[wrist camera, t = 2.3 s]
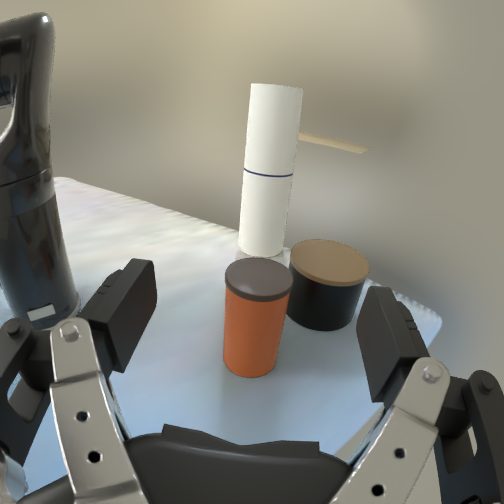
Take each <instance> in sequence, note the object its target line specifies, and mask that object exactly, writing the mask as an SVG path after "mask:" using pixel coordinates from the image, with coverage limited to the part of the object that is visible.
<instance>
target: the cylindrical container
mask: <svg viewBox="0 0 504 504" xmlns="http://www.w3.org/2000/svg"><path fill="white" fill-rule="evenodd" d="M302 97H303V89H300V88H295V87H288V86H280V85H271V84H251V94H250V104H249V115H248V116H249V117H248V127H247V139H246V152H245V164H244V167H245V168H244V177H243V189H242V202H241V216H240V229H239V243H238V246H239V248H240V249H241V250H242V251H243V252H245V253H246V254H249V255H252V256H256V257H272V256H276V255H278V254H279V253H281V251H282V249H283V242H284V235H285V228H286V222H287V214H288V208H289V200H290V192H291V186H292V179H293V171H294V163H295V155H296V148H297V140H298V132H299V123H300V115H301V105H302Z"/></svg>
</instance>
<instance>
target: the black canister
mask: <svg viewBox="0 0 504 504" xmlns="http://www.w3.org/2000/svg"><path fill="white" fill-rule="evenodd" d="M289 270H290V272H291V273H292V275H293V286H292V289H291V291H290V295H289V300H288V305H287V310H286V313H287V314H288V316H289V317H290V318H291V319H292V320H294V321H295V322H297V323H298V324H300V325H302V326H304V327H306V328H309V329H313V330H318V331H333V330H337V329H340V328H343V327H344V326H346V325H347V324H348V323H349V322H350V321H351V319H352V317H353V314H354V311H355V308H356V306H357V303H358V300H359V297H360V294H361V291H362V288H363V285H364V282H365V279H366V278H367V276H368V273H369V264H368V261H367V260H366V258H365V257H364V256H363V255H362V254H361V253H359V252H358V251H356V250H355V249H353V248H351V247H349V246H347V245H344V244H342V243H339V242H335V241H330V240H323V239H312V240H305V241H302V242H299V243H297V244H296V245H295V246H293V248H292V249H291V253H290V264H289Z"/></svg>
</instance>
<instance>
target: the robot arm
mask: <svg viewBox="0 0 504 504" xmlns="http://www.w3.org/2000/svg"><path fill="white" fill-rule="evenodd" d="M54 52H55V28H54V24H53V21H52V19H51V18H50V16H49V15H48V14H46V13H43V12H40V13H33V14H28V15H25V16H21V17H18V18H14V19H10V20H7V21H4V22H1V23H0V109H4V108H7V107H11V106H13V108H12V115H11V119H10V122H9V124H8V126H7V127H6V129H5V130H4V131H3V132H2V134H1V135H0V284H1V287H2V290H3V292H4V295H5V297H6V300H7V302H8V304H9V307H10V309H11V311H12V313H13V316H14V318H12V319H10V320H8V321H7V322H5V323H4V324H3V325H2V327H1V328H0V504H404V503H405V502H406V500H407V498H408V496H409V495H410V493H411V491H412V489H413V487H414V485H415V483H416V481H417V479H418V478H419V475H420V473H421V471H422V469H423V467H424V465H425V463H426V461H427V458H428V456H429V454H430V452H431V450H432V447H434V453H435V458H436V464H437V470H438V477H439V485H440V493H441V502H442V504H504V395H503V392H502V390H501V387H500V385H499V383H498V381H497V380H496V378H495V377H494V376H493V375H492V374H490V373H489V372H487V371H483V370H477V371H475V372H474V373H473V374H472V375H471V376H470V378H469V379H468V380H466V379H461V378H457V377H452V376H450V374H449V371H448V369H447V368H446V367H445V365H444V364H443V363H441V362H440V361H438V360H437V359H434V358H431V357H430V355H429V353H428V351H427V348H426V346H425V344H424V341H423V339H422V337H421V335H420V332H419V330H417V329H418V328H417V326H416V324H415V322H414V319H413V317H412V315H411V313H410V311H409V310H408V309H407V308H406V306H405V305H404V304H403V303H402V302H401V301H396V298H395V296H394V294H393V292H392V290H391V288H389V287H379V286H370V287H369V289H368V291H367V294H366V297H365V299H364V302H363V305H362V308H361V311H360V313H359V316H358V319H357V325H356V332H357V337H358V341H359V345H360V349H361V353H362V358H363V362H364V367H365V371H366V376H367V380H368V385H369V390H370V395H371V400H372V403H374V402H383V403H384V407H385V408H384V409H383V410H382V412H381V413H380V415H379V417H378V418H377V420H376V421H375V423H374V425H373V426H372V428H371V429H370V431H369V432H368V434H367V435H366V437H365V438H364V440H363V441H362V443H361V444H360V446H359V447H358V449H357V450H356V451H355V452H354V454H353V455H352V456H351V457H350V459H349V460H348V461H347V462H344V461H342V460H341V459H339V458H337V457H335V456H333V455H330V454H327V453H324V452H320V451H319V442H311V441H284V440H281V441H274V442H267V443H260V444H252V445H237V444H234V443H231V442H228V441H225V440H223V439H220V438H217V437H215V436H212V435H210V434H207V433H205V432H202V431H198V430H193V429H187V428H182V427H177V426H173V425H168V424H164V426H163V430H162V433H151V434H145V435H140V436H137V437H134V438H132V436H131V434H130V432H129V430H128V428H127V425H126V423H125V421H124V418H123V415H122V413H121V410H120V407H119V405H118V402H117V399H116V396H115V393H114V390H113V387H112V384H111V381H110V379H109V377H110V375H111V373H112V371H117V372H120V373H124V371H125V369H126V367H127V365H128V363H129V361H130V359H131V357H132V354H133V352H134V350H135V348H136V346H137V344H138V342H139V340H140V338H141V336H142V334H143V332H144V330H145V328H146V326H147V324H148V322H149V320H150V318H151V316H152V314H153V312H154V310H155V308H156V304H157V289H156V281H155V272H154V264H153V262H152V261H150V260H143V259H135V258H133V259H131V260H130V262H129V263H128V264H127V265H126V267H125V268H124V269H123V270H120V269H119V270H117V271H116V272H114V273H112V274H111V275H109V276H108V277H107V278H106V280H105V281H104V282H103V283H102V286H100V287H99V289H98V290H97V291H96V293H95V294H94V295H93V296H92V298H91V299H90V300H89V301H88V303H87V304H86V305H85V307H84V308H83V309H82V311H81V312H80V313H79V315H78V316H77V314H78V312H79V310H80V299H79V296H78V293H77V291H76V288H75V284H74V281H73V277H72V273H71V269H70V265H69V261H68V257H67V253H66V248H65V244H64V239H63V234H62V229H61V224H60V219H59V213H58V207H57V201H56V194H55V188H54V180H53V173H52V164H51V163H52V161H51V148H50V92H51V81H52V71H53V62H54ZM76 316H77V317H76ZM18 372H19V374H20V375H21V379H20V381H19V383H18V384H17V386H16V388H15V390H14V392H13V393H12V395H11V397H10V399H9V401H8V398H7V393H8V389H9V387H10V386H11V384H12V382H13V380H14V379H15V377H16V375H17V374H18ZM50 402H51V403H52V409H53V415H54V420H55V425H56V430H57V435H58V439H59V443H60V448H61V452H62V456H63V459H64V463H65V467H66V470H67V473H68V474H67V475H65V476H63V477H62V478H60V479H58V480H56V481H54V482H52V483H50V484H48V485H46V486H44V487H42V488H40V489H38V490H36V491H34V492H32V493H30V494H28V495H26V496H25V493H26V492H27V490H28V484H27V482H26V478H25V473H24V470H23V465H24V463H25V460H26V457H27V455H28V452H29V450H30V447H31V445H32V443H33V440H34V438H35V435H36V433H37V431H38V428H39V426H40V424H41V422H42V419H43V417H44V415H45V413H46V411H47V409H48V406H49V404H50ZM471 426H472V427H473V431H474V434H475V438H476V442H477V452H476V455H475V456H474V454H473V450H472V446H471V441H470V437H469V434H468V429H469V428H470V427H471Z"/></svg>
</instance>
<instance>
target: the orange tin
mask: <svg viewBox="0 0 504 504" xmlns="http://www.w3.org/2000/svg"><path fill="white" fill-rule="evenodd" d="M225 282H226V297H225V323H224V353H223V357H224V362H225V364H226V366H227V367H228V368H229V369H230V370H231V371H232V372H233V373H235V374H237V375H240V376H243V377H249V378H253V377H260V376H263V375H265V374H267V373H268V372H270V371H271V370H272V368H273V367H274V365H275V362H276V358H277V353H278V348H279V344H280V339H281V334H282V330H283V325H284V320H285V315H286V310H287V305H288V300H289V295H290V291H291V289H292V286H293V275H292V273H291V272H290V270H289V269H288V268H287V267H285V266H284V265H282V264H281V263H278V262H276V261H273V260H270V259H266V258H254V257H253V258H244V259H240V260H237V261H235V262H233V263H232V264H230V265H229V266H228V268H227V269H226V272H225Z"/></svg>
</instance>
